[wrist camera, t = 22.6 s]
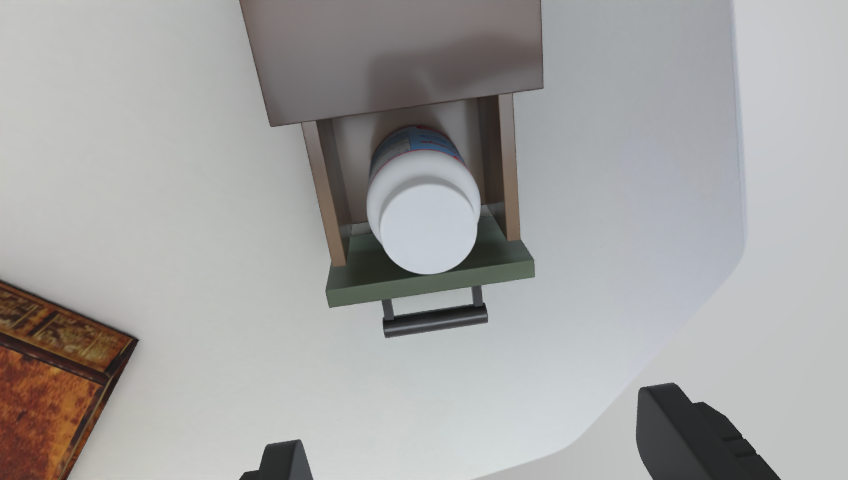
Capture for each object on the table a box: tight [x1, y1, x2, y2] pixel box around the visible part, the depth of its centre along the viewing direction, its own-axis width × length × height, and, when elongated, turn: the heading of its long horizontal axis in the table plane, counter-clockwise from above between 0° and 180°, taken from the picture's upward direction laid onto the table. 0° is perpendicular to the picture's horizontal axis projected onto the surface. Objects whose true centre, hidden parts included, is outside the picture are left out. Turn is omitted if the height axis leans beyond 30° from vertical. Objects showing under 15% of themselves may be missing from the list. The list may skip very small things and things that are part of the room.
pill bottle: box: [367, 125, 481, 274], centre depth 29 cm, size 6×6×11 cm
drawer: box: [301, 93, 535, 338], centre depth 32 cm, size 20×12×8 cm, turn 7°
